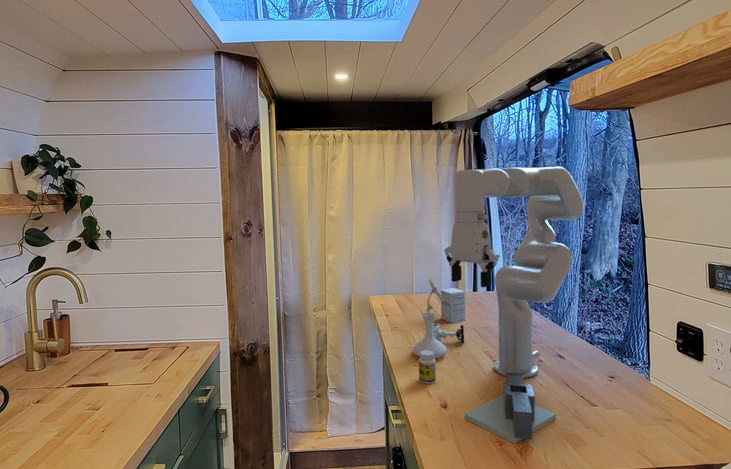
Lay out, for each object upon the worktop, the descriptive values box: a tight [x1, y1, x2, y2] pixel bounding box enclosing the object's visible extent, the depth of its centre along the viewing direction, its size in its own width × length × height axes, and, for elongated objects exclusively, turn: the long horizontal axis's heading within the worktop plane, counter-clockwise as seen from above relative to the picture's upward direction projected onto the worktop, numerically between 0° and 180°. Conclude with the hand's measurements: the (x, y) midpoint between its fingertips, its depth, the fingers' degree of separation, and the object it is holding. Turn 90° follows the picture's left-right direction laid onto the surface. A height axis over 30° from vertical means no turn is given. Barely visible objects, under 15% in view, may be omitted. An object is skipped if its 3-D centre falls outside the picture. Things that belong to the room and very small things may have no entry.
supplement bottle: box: [418, 350, 437, 385], centre depth 128 cm, size 5×5×8 cm
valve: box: [433, 323, 465, 344], centre depth 158 cm, size 7×7×12 cm
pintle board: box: [464, 372, 557, 445], centre depth 107 cm, size 20×15×6 cm
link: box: [503, 381, 536, 440], centre depth 104 cm, size 18×6×6 cm, turn 166°
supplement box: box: [440, 287, 466, 324], centre depth 184 cm, size 7×7×13 cm
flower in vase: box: [412, 279, 448, 359], centre depth 147 cm, size 13×11×25 cm
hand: (470, 283), depth 116 cm, fingers open, 9 cm apart
